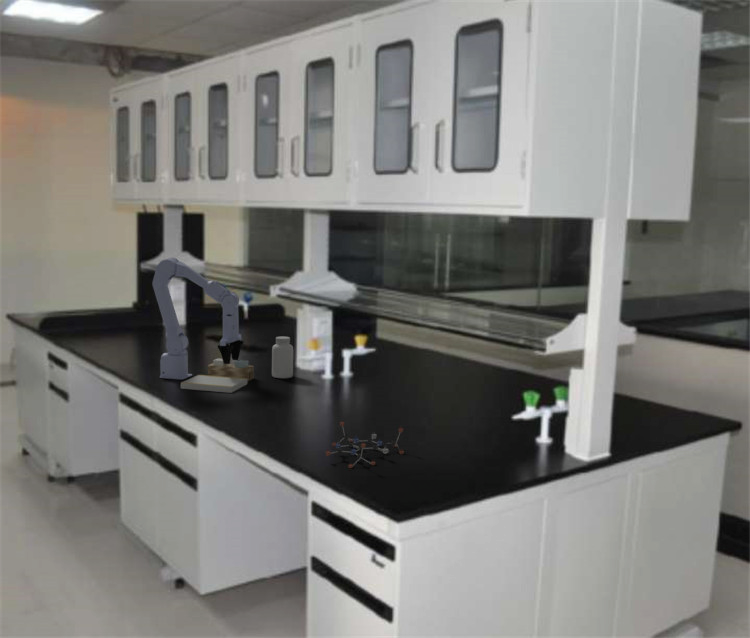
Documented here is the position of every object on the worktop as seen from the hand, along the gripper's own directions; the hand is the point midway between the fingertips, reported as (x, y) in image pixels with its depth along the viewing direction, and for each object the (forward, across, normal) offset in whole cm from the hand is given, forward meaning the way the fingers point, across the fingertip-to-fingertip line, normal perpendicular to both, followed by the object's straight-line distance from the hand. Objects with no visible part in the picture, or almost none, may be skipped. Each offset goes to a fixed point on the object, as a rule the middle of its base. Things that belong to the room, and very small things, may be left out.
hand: (231, 361), depth 298 cm
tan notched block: (+6, 0, 0) cm, 6 cm away
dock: (+6, -14, 0) cm, 15 cm away
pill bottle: (+6, +9, -17) cm, 20 cm away
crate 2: (+2, 0, -4) cm, 4 cm away
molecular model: (+7, -71, -69) cm, 99 cm away
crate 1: (+1, 0, +4) cm, 5 cm away
